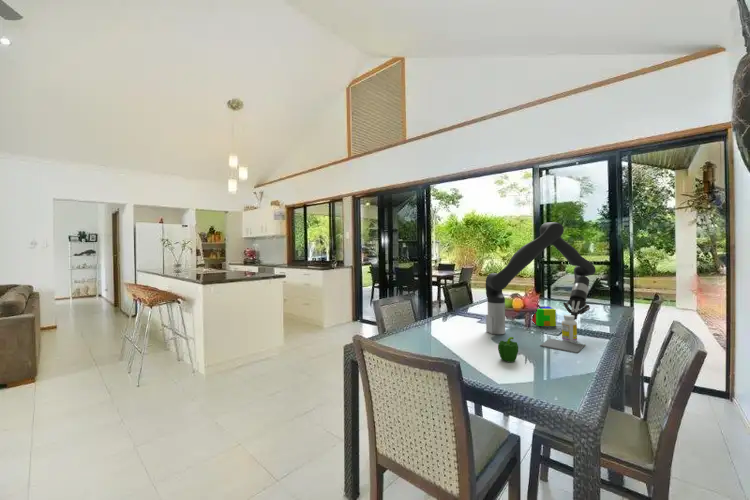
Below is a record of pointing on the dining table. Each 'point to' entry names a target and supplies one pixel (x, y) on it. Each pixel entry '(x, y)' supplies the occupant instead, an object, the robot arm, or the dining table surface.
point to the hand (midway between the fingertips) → (573, 319)
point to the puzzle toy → (545, 316)
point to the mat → (563, 345)
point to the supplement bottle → (569, 329)
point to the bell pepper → (508, 350)
